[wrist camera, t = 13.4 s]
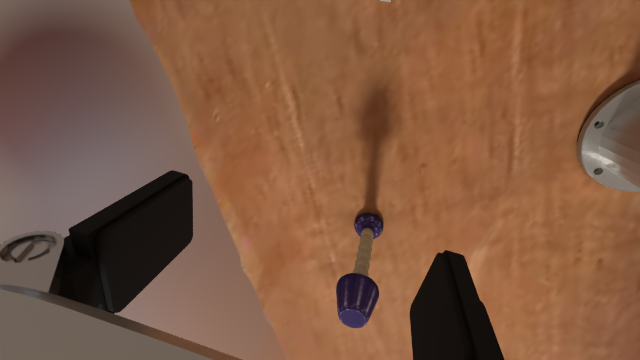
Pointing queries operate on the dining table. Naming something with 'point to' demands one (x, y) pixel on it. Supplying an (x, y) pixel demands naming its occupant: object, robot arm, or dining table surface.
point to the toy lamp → (359, 277)
